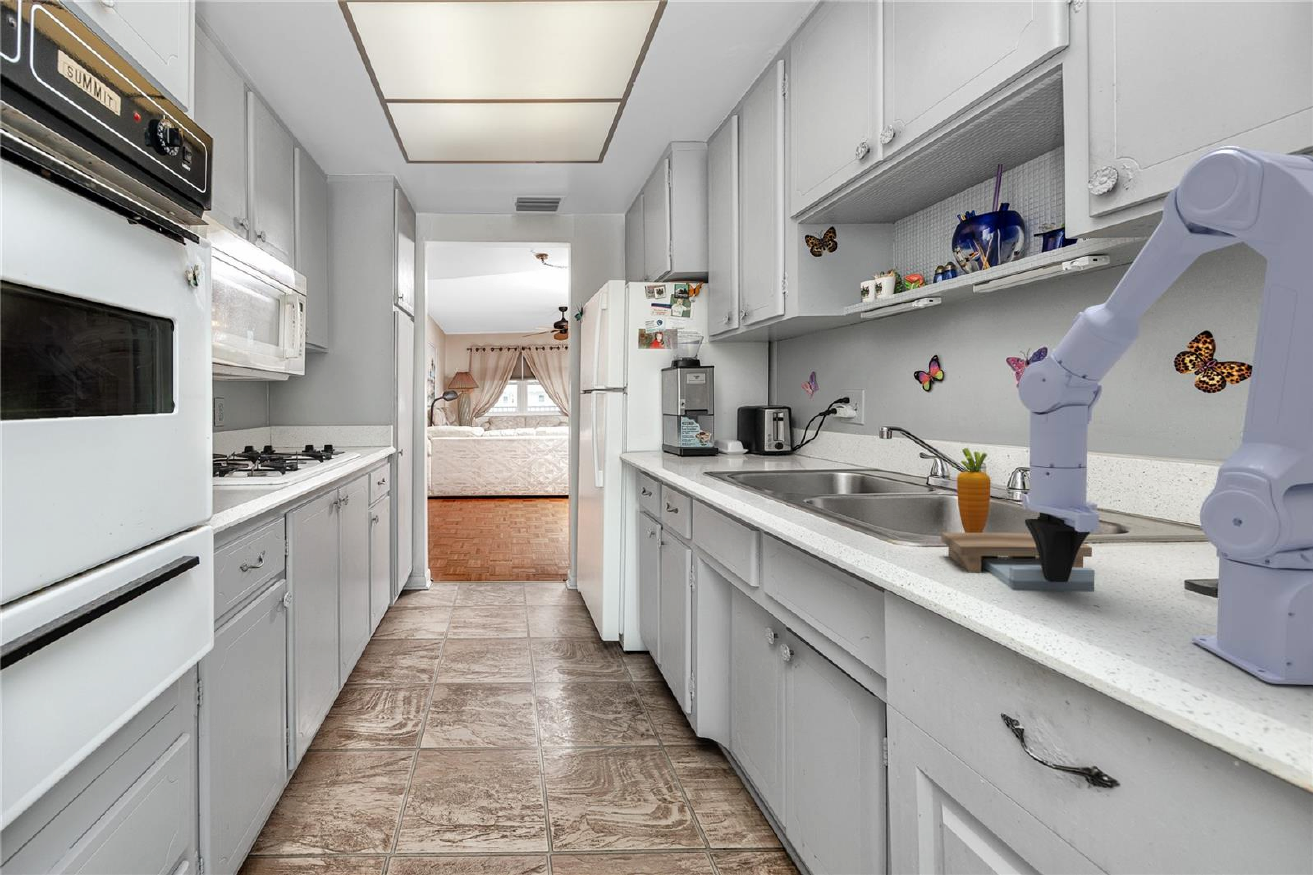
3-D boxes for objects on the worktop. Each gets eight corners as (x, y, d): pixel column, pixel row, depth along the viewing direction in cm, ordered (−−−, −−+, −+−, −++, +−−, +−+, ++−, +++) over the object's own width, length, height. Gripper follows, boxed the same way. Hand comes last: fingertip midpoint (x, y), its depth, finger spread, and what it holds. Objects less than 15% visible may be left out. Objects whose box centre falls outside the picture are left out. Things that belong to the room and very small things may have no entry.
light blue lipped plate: (1094, 591, 78) (1094, 570, 78) (1013, 590, 79) (1013, 569, 79) (1051, 567, 89) (1051, 548, 89) (981, 567, 90) (981, 548, 90)
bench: (1091, 573, 85) (1091, 547, 85) (961, 571, 87) (961, 546, 87) (1058, 556, 94) (1059, 533, 94) (941, 555, 96) (941, 532, 96)
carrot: (997, 546, 100) (998, 449, 100) (964, 547, 100) (965, 450, 100) (981, 539, 105) (981, 446, 105) (950, 540, 105) (950, 447, 105)
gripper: (1131, 472, 69) (1128, 600, 70) (1064, 459, 83) (1063, 565, 84) (1058, 473, 70) (1057, 598, 71) (1005, 460, 84) (1004, 564, 85)
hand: (1056, 580), depth 77 cm, fingers closed
